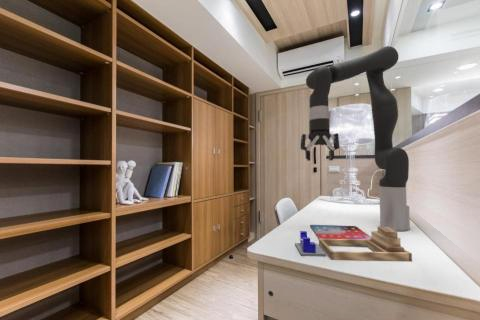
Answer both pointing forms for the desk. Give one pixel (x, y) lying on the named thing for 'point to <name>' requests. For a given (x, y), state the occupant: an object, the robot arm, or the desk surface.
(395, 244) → the offcut stack
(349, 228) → the tablet
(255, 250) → the desk surface
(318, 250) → the felt pad
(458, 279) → the desk surface
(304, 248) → the cable holder
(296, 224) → the desk surface
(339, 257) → the rack
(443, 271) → the desk surface
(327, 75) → the robot arm
